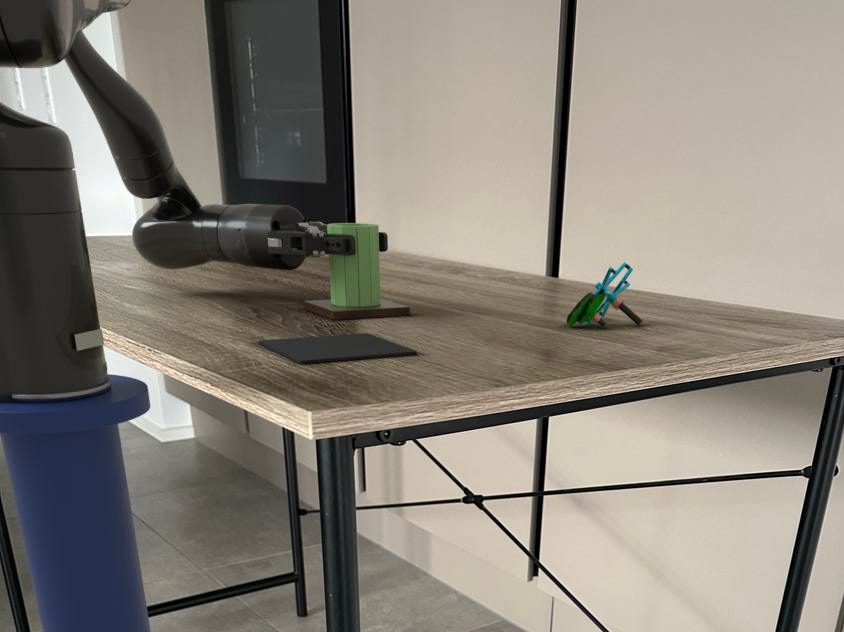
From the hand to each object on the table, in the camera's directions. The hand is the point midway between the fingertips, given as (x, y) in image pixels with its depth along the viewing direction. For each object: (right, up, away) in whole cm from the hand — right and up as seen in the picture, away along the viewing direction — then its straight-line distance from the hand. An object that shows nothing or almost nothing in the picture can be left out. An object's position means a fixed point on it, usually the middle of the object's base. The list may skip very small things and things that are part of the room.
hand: (369, 243), depth 112 cm
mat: (-1, -18, -18) cm, 26 cm away
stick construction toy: (+28, -10, -1) cm, 30 cm away
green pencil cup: (-2, -6, +4) cm, 7 cm away
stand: (-2, -7, +5) cm, 8 cm away
